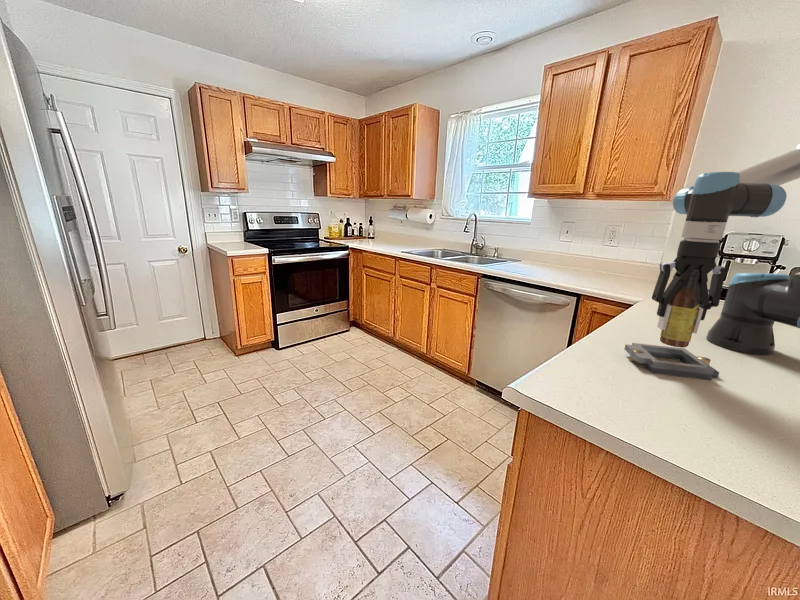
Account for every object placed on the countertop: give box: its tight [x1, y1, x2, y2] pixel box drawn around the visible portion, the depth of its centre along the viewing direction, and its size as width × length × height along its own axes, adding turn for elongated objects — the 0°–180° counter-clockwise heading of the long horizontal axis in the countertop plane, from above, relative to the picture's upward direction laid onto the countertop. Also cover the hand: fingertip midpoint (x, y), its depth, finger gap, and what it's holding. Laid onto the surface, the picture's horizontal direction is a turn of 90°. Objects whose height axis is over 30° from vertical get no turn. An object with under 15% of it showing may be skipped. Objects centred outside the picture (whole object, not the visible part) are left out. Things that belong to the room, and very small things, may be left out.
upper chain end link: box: [624, 342, 715, 375], centre depth 90 cm, size 16×13×3 cm
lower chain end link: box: [640, 351, 720, 381], centre depth 89 cm, size 16×13×3 cm
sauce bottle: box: [659, 270, 700, 348], centre depth 86 cm, size 6×6×20 cm
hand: (676, 329), depth 87 cm, fingers closed on sauce bottle, 6 cm apart
